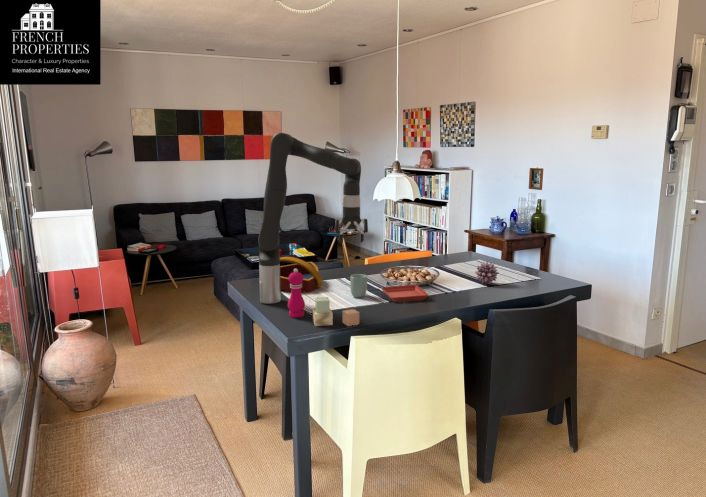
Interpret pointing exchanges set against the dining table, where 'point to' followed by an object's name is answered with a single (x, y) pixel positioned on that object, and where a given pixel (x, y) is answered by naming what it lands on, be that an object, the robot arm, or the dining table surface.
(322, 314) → the birch block
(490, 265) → the purple spiky ball
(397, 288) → the plant saucer
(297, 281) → the pepper mill
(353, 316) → the terracotta cube
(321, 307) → the sage cube
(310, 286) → the decorative basket
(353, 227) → the robot arm
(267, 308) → the dining table surface
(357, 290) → the cup
